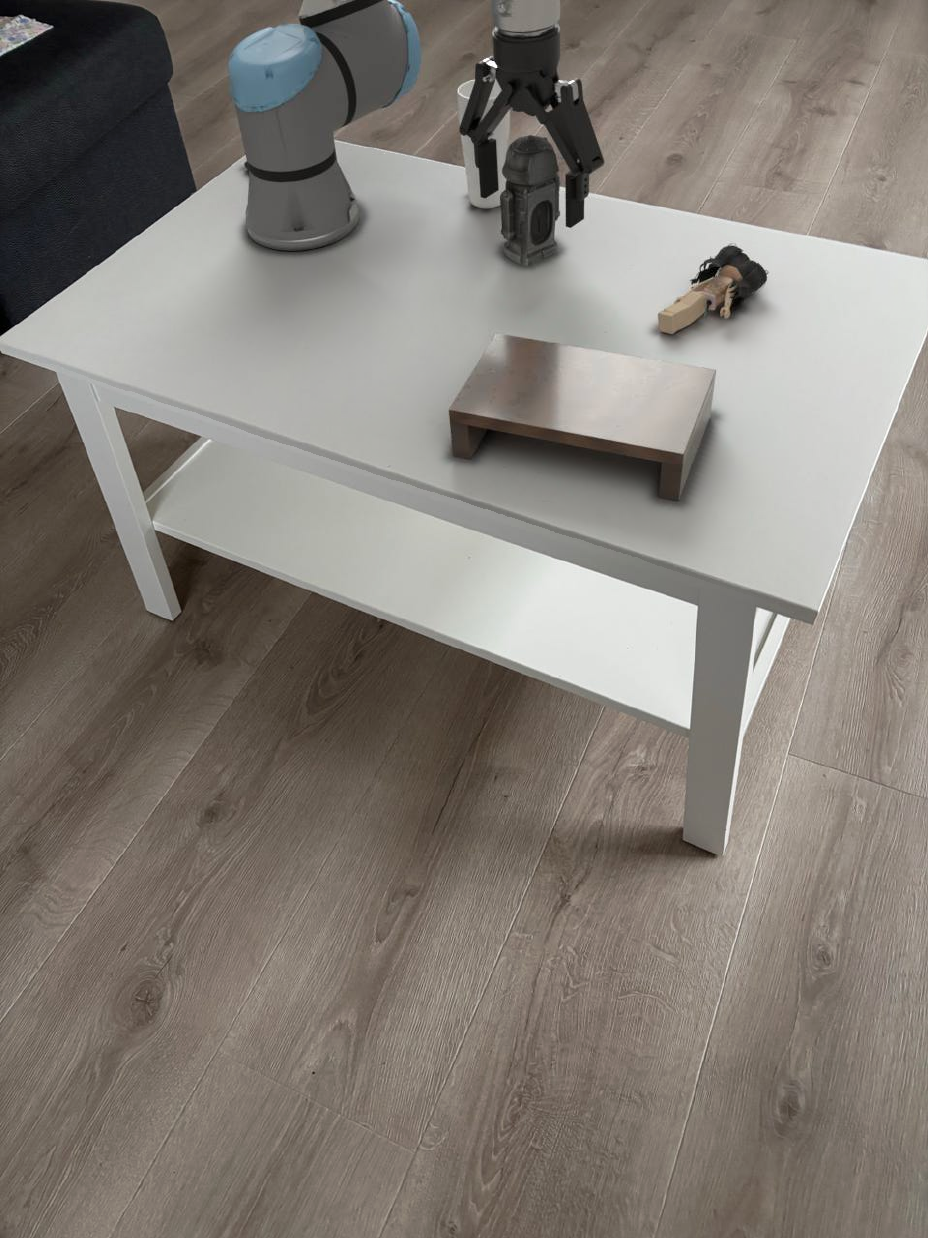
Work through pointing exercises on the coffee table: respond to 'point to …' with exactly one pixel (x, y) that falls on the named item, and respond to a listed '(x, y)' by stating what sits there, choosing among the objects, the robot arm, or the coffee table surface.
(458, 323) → the coffee table surface
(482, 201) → the drinking glass
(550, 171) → the toy
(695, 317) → the toy figure
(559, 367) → the shelf
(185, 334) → the coffee table surface
